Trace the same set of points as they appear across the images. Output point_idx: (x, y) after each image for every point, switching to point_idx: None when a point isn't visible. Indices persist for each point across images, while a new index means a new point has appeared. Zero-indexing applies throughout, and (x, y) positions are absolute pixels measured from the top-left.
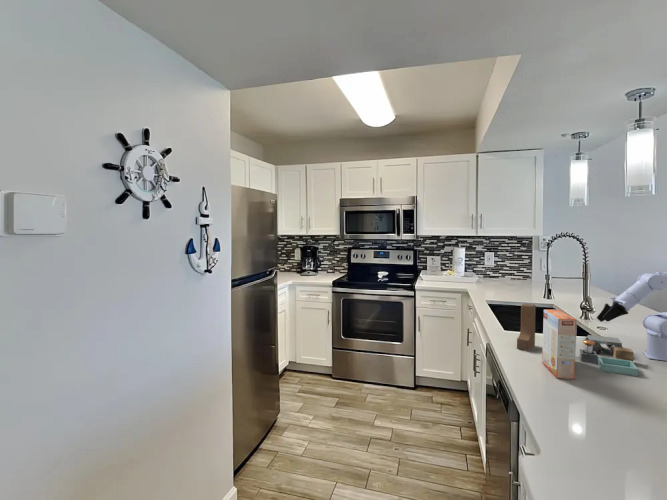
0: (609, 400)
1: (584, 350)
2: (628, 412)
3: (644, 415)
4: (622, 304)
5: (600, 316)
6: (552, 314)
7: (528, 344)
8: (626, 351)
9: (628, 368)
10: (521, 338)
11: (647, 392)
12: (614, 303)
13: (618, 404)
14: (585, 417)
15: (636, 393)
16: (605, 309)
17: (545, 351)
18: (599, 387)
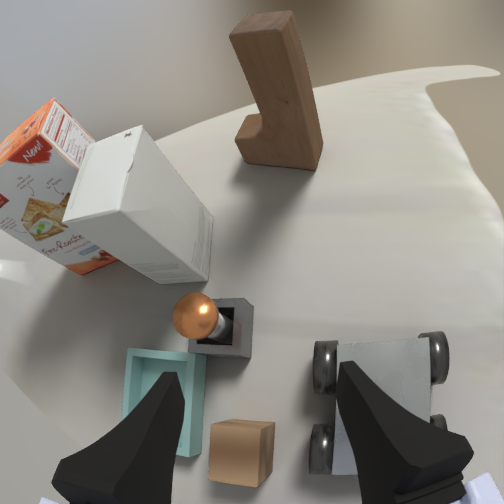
0: (30, 321)
1: (234, 314)
2: (12, 337)
3: (9, 356)
4: (42, 500)
5: (347, 388)
6: (3, 141)
7: (239, 149)
8: (210, 458)
9: (123, 416)
10: (246, 122)
11: (62, 407)
12: (66, 461)
13: (24, 331)
14: (5, 278)
15: (54, 382)
16: (378, 438)
17: None
18: (62, 319)
